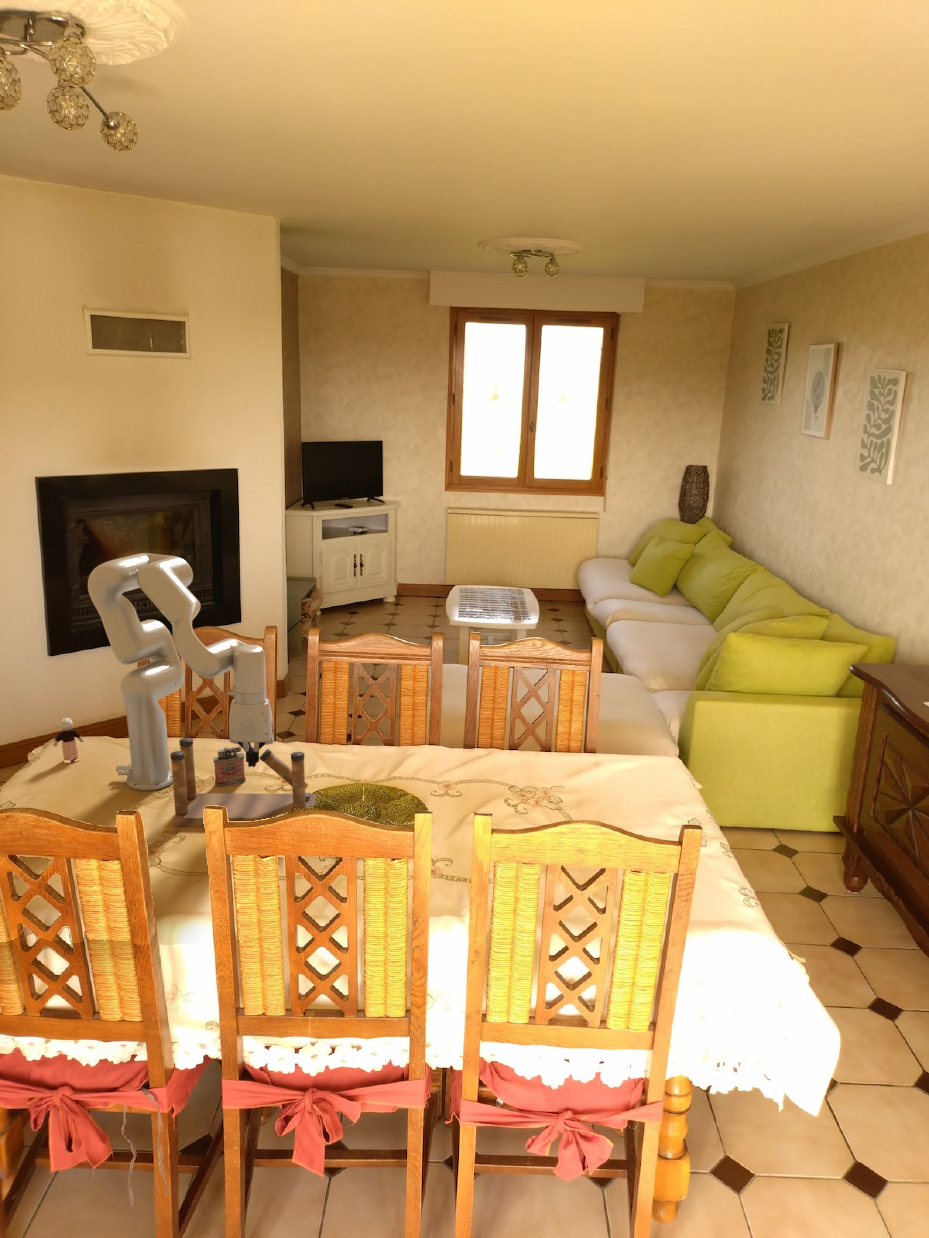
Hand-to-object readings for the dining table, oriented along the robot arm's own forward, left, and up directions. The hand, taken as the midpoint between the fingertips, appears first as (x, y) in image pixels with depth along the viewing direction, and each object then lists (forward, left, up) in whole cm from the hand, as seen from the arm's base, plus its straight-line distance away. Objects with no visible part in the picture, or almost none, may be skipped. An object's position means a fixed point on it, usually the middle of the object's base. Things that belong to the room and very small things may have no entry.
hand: (252, 764), depth 234 cm
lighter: (-9, +13, -12) cm, 20 cm away
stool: (-1, -4, -12) cm, 12 cm away
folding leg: (+7, 0, -3) cm, 7 cm away
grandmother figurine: (-56, +27, -12) cm, 63 cm away
